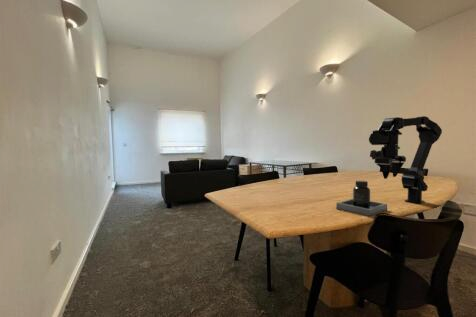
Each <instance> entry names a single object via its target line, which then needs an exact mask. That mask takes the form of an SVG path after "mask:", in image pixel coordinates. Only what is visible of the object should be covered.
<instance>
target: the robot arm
mask: <svg viewBox="0 0 476 317" xmlns="http://www.w3.org/2000/svg"><path fill="white" fill-rule="evenodd" d="M379 125H380V126H379V127H378V129H374V130H372V133H371V134H370V135H369V137H368V142H369V144H370V145H372V146H381V149H380V150H375V149H372V150H370V152H369V157H371V159H372V160H374V164H376V165H377V166H378V167H379V168H380V170H381V172H382V175H383V179H384V180H386V179H388V178H389V175H390V173H391V172H392V177H393V178H396V177H397V176H398V173H400V170H401V169H402V167H403V165H404V164H405V162H406V161H407V157H406V156H405V155H399V150H400V149H401V147H400V146H399V136H401V135H403V132H401V131H400V129H403V128H405V127H410V126H415V127H416V132H417V133H418V138H419V144H418V147H417V150H416V151H415V152H416V153H415V155H414V157H413V159H412V163H411V166H410V168H408V169H404V170H403V173H402V175H401V176H400V177H401V185H402V188H403V189H407V199H405V200H404V202H405V203H407V202H408V203H413V204H419V205H420V204H422V203H425V200H424V199H423V192H426V191H428V188H429V186H428V185H427V183H426V182H425V175H424V172H423V170H424V168H425V165H426V163H427V159H428V157H429V155H430V152H431V149H432V146H433V144H435V143H436V142H437V141H438V140H440V137H441V135H442V134H443V131H442V127H441V126H440V125H438V123H437V122H434V121H433V120H431V119H430V118H429V117H428V116H425V115H422V116H417V117H411V118H410V117H409V118H403V117H398V116H396V117H389V118H388V117H387V118H386V117H385V118H384V119H382V122H381V124H379ZM423 125H424V126H423ZM422 199H423V200H422Z"/></svg>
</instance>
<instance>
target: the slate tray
mask: <svg viewBox="0 0 476 317" xmlns="http://www.w3.org/2000/svg"><path fill="white" fill-rule="evenodd" d="M335 206H336V210H338V211H339V210H340V211H343V212H348V213H351V214H352V213H353V214H357V215H360V216H365V217H368V218H370V217H373V216H376V215H378V214H377V213H379V214H382V213H384V212H386V211H387V212H388V203H384V202H377V201H372V200H370V208H369V209H366V208H362V207H357V206H353V198H349V199H346V200H342V201H339V202H336V205H335Z"/></svg>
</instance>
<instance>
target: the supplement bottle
mask: <svg viewBox="0 0 476 317" xmlns="http://www.w3.org/2000/svg"><path fill="white" fill-rule="evenodd" d="M368 183H369V182H368V181H367V180H356V181H355V186H354V187H353V190H352V191H353V192H352V199H353V206H357V207H362V208H366V209H369V208H370V201H371V189H370V187H368V186H369V184H368Z"/></svg>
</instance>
